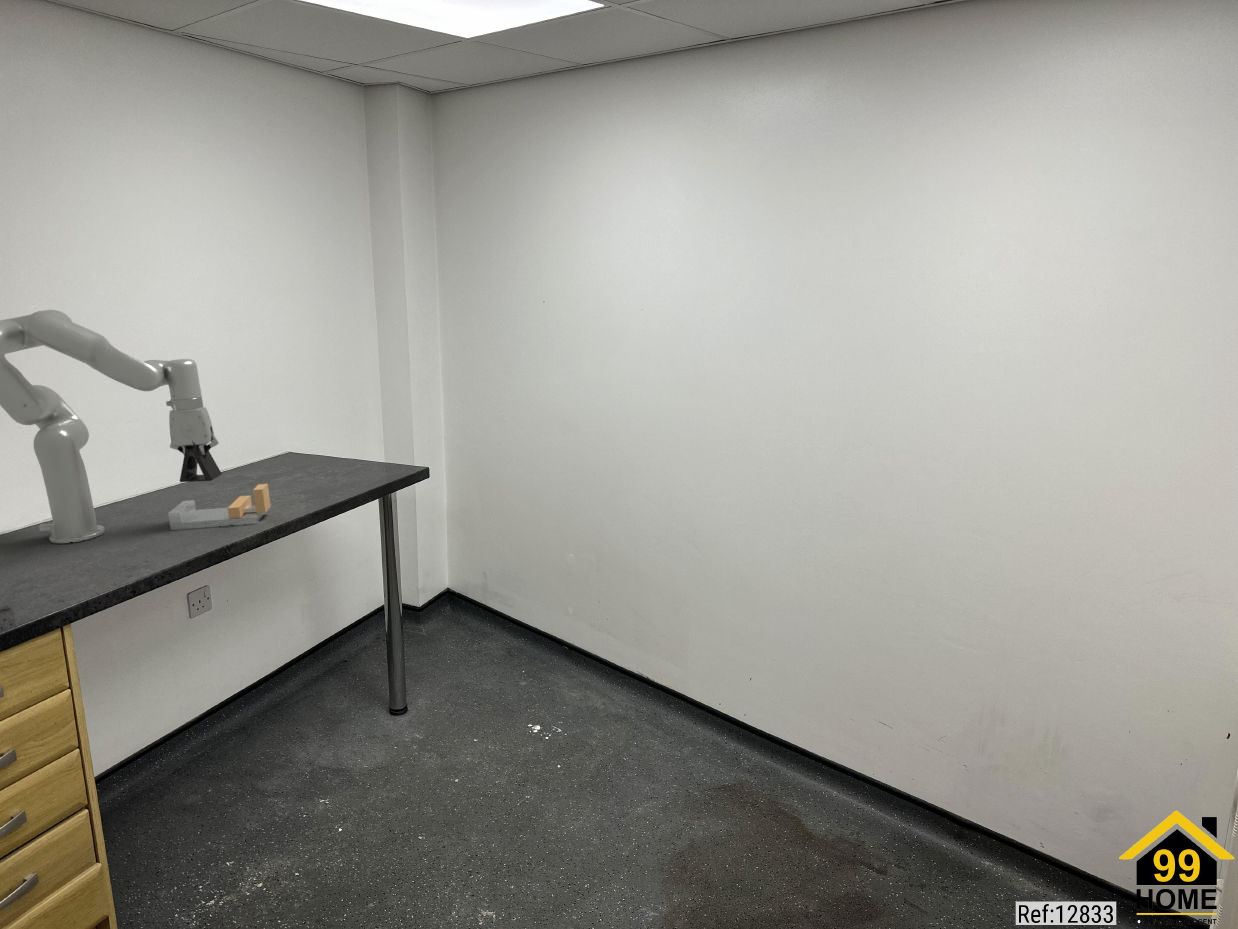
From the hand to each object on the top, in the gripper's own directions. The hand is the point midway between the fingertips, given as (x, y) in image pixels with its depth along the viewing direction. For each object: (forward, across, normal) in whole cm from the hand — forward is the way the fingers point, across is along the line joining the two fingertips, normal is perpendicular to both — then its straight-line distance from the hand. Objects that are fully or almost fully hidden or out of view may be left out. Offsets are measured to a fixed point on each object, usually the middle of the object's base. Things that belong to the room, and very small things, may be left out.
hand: (198, 467), depth 218 cm
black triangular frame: (+3, 0, 0) cm, 3 cm away
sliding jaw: (+14, +12, 0) cm, 19 cm away
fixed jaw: (+14, -6, 0) cm, 15 cm away
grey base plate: (+16, +4, 0) cm, 16 cm away
